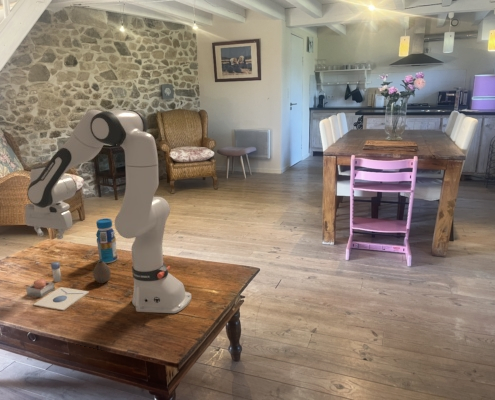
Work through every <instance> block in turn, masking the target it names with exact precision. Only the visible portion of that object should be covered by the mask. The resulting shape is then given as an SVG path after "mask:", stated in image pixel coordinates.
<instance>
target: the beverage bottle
mask: <svg viewBox="0 0 495 400" xmlns="http://www.w3.org/2000/svg"><path fill="white" fill-rule="evenodd" d="M112 227H113V221H112V219H111V218H100V219H97V221H96V228H97V231H96V234H95V236H96V243H97V245H96V246H97V251H98V257H99V258H98V259H99V260H98V261H104V263H105V264H110V263H114V262H115V261H117V260H118V251H117V242H116V241H117V239H116V236H115V235H116V232H115V230H114V229H113V228H112Z"/></svg>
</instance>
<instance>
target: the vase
mask: <svg viewBox="0 0 495 400" xmlns="http://www.w3.org/2000/svg"><path fill="white" fill-rule="evenodd" d="M92 275H93V278H94V280H95V282H97V283H99V284H104V283H107V282H108V281H109V280H110V278H111V275H112V271H111V269H110V267H109V265H108V264H107V263H104V261H100V260H98V261H97V263H96V265H95V267H94V269H93V272H92Z"/></svg>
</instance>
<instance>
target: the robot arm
mask: <svg viewBox="0 0 495 400" xmlns="http://www.w3.org/2000/svg"><path fill="white" fill-rule="evenodd" d="M147 130H148V121H147V119H146V117H145V115H143V114H142V113H141V111H137V110H132V109H129V110H125V109H113V110H108V111H107V110H105V111H102V110H99V109H90V110H88V111H87V112H86V113H85V114H84V115H83V116H82V117H81V119H80V120H79V121H78V123H77V124H76V126H75V127H74V129H73V131H72V132H71V134H70V136H69V137H68V139H67V140H66V141H65V143H64V144H63V145H62V146H61V147H60V148H59V149H58V150H57V151H56V152H55V154H54V155H53V156H52V157H51V159H50V160H49V162H48V163H47V164H46V165H41V166H36V167H33V168H32V169H31V170H30V175H29V176H30V178H29V179H30V183H29V185H28V187H27V191H26V193H27V194H26V195H27V196H26V197H27V199H28V200H29V201H30V203H27V204H26V205H25V206H24V210H25V211H24V222H25V225H26V226H29V227H33V228H34V231H35V232H36V233H37V237H39V238H41V237H43V236H44V231H42V229H41V228H45V229H52V230H58V232H59V233H58V234H56V238H57V240H63V238H64V233H65V231H68V230H69V229H71V228H72V227H73V217H72V213H71V211H70V208H71V207H70V206H71V205H70V204H69V203H67V202H64V201H65V200H68V199H71V198H73V197H74V196H75V195H76V194H77V190H78V189H77V186H78V185H77V183H76V181H75V179H74V178H73V177H72V176H70V175H67V174H66V172H68V171H70V170H71V169H72V168H75V167H77V166H79V165H81V164H84V163H87V162H89V161H91V160H93V159H94V158H95V157H97V155H98V154H99V153H100V152H101V150H102V148H103V146H104V145H105V144H106V145H109V146H111V147H113V148H119V147H121V148H122V149H123V151H124V160H125V161H124V162H125V163H124V165H125V190H124V196H123V199H122V203H121V207H120V208H119V209H120V210H119V211H118V214H117V215H116V216H115V218H114V227H115V230H116V232H117V233H118V235H120V236H121V237H123V238H125V239H134V241H133V243H132V245H131V248H130V251H131V258H132V259H131V260H132V267H131V271H132V277H133V294H132V300H131V303H132V305H133V306H134V308H135V311H136V312H138V313H139V312H140V313H160V314H176V313H178V312H181V311H182V310H184V309H185V308H186V307H187V306H188V305H189V304H190V302H191V301H192V293H190V292H188V291H186V289H185V285H184V283H183V282H182V281H180V280H179V279H178V278H176V277H175V276H174V275H172V274H171V273H169V270H170V268H171V266H170V265H168V266H166V264H165V262H164V256H163V255H164V254H163V241H164V234H165V233H164V232H165V228H166V223H167V220H168V217H169V216H170V213H171V207H170V205H169V202H168V201H167V200H166V199H165V198H164V197H162V196H155V194H156V191H157V190H158V187H159V184H160V182H159V156H158V150H157V149H158V148H157V144H156V141H155V137H154V136H153V135H152V134H151V133H149V132H147Z"/></svg>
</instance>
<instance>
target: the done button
mask: <svg viewBox="0 0 495 400" xmlns="http://www.w3.org/2000/svg"><path fill="white" fill-rule="evenodd" d="M33 284H34V288H36V289H41V288H43V287H45V286H46V279H44V278H39V279H36V280H34V281H33Z"/></svg>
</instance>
